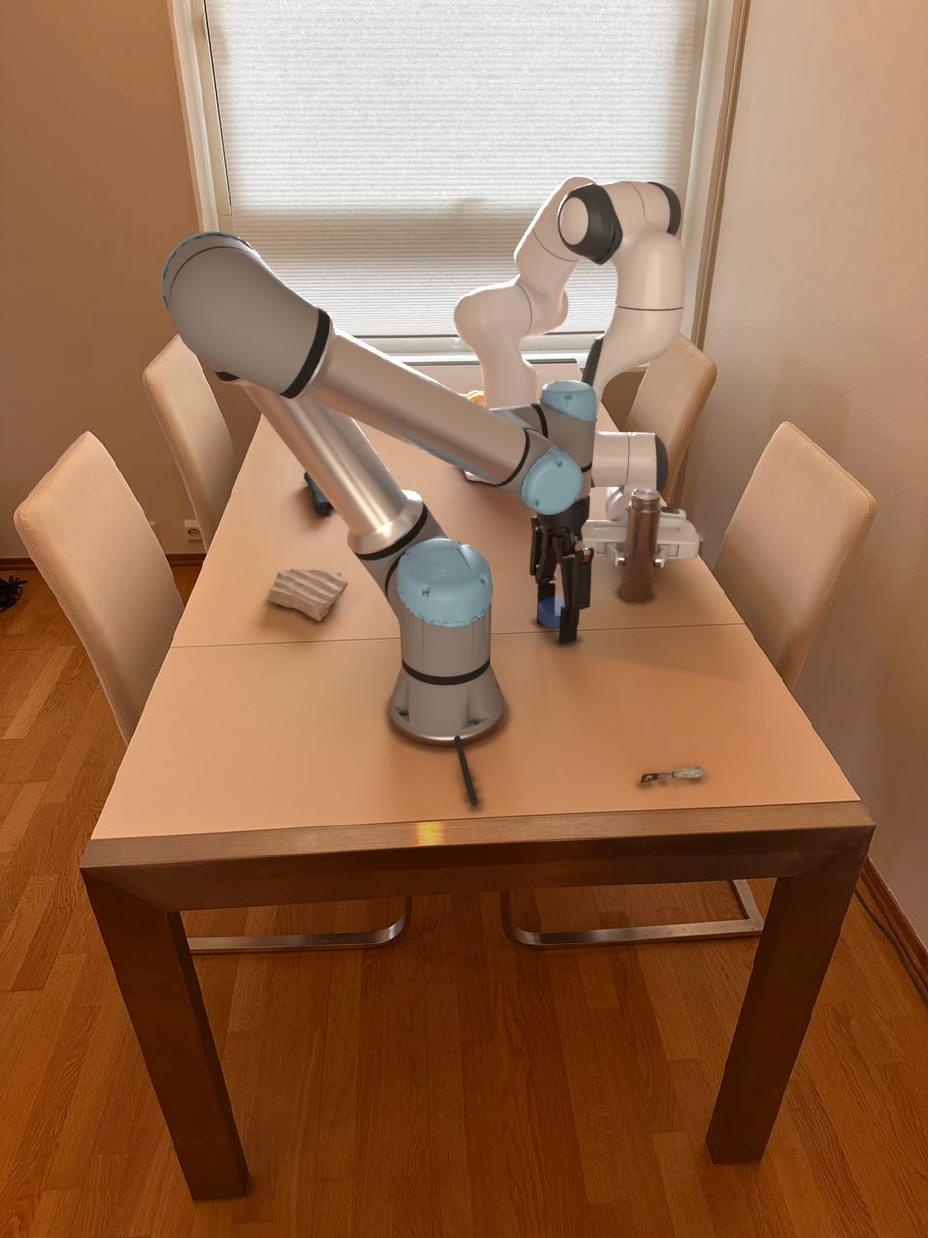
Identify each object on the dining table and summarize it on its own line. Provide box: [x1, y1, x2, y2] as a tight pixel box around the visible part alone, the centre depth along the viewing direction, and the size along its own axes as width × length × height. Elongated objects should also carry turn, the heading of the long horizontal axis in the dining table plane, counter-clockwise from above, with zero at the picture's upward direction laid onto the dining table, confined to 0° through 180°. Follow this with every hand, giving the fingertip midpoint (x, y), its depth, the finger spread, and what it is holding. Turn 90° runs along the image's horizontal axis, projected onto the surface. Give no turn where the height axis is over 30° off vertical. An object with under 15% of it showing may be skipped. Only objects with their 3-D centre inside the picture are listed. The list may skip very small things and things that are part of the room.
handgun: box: [303, 470, 335, 515], centre depth 181 cm, size 3×18×12 cm
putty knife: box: [640, 765, 705, 784], centre depth 109 cm, size 1×8×2 cm, turn 103°
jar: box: [619, 488, 663, 603], centre depth 143 cm, size 5×5×18 cm
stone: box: [267, 568, 349, 622], centre depth 146 cm, size 13×12×2 cm
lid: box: [538, 596, 565, 629], centre depth 136 cm, size 6×6×2 cm
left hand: (556, 631), depth 138 cm, fingers closed on lid, 6 cm apart
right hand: (639, 562), depth 143 cm, fingers closed on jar, 5 cm apart
